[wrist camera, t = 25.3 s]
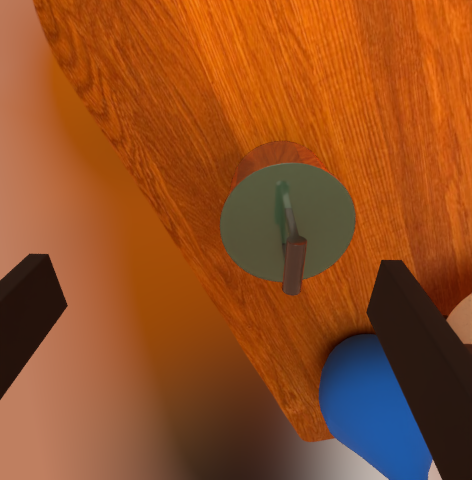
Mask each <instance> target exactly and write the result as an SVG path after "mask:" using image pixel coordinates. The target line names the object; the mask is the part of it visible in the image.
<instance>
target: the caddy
mask: <svg viewBox="0 0 472 480" xmlns="http://www.w3.org/2000/svg"><path fill="white" fill-rule="evenodd" d="M285 161H297V162H305V163H310V164H313V165H316V166H319V167H321V168H323V169H325V170H327V169H326V168H325V166H324V165H323V163H322V162H321V161H320V160H319V159H318V158H317V156H316V155H315V154H314V153H313V152H312V151H311V150H309V149H307V148H306V147H304V146H302V145H300V144H297V143H294V142H288V141H275V142H270V143H266V144H263V145H261V146H259V147H257V148H255V149H253V150H252V151H251V152H249V153H248V154H247V155H246V156H245V157H244V158H243V159H242V161H241V162H240V163H239V164H238V167H237V169H236V171H235V173H234V176H233V178H232V181H231V187H230V192H231V191H232V189H233V188H234V187H235V186H236V185H237V183H238V182H239V181H240V180H242V179H243V178H244V177H245V176H246V175H248V174H250V173H251V172H253V171H254V170H257V169H259V168H261V167H263V166H266V165H269V164H272V163H278V162H285Z"/></svg>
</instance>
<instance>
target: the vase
mask: <svg viewBox="0 0 472 480" xmlns="http://www.w3.org/2000/svg"><path fill="white" fill-rule="evenodd" d="M319 403H320V408H321V412H322V414H323V417H324V419H325V421H326V424H327V426H328V428H329V431H330V433H331V434H332V435H333V436H334V437H335V438H336V439H337V440H338V441H340V442H341V443H342V444H344V445H345V446H347V447H348V448H350V449H351V450H352V451H354V452H355V453H357V454H358V455H359V456H361V457H362V458H363V459H365V460H366V461H367V462H368V463H369V464H371V465H372V466H373V467H375V468H376V469H377V470H378V471H379V472H380V473H382V474H383V475H384V476H385V477H387V478H388V479H389V480H428V472H429V469H430V466H431V463H432V460H433V458H432V456H431V454H430V452H429V449H428V447H427V445H426V443H425V441H424V438H423V436H422V434H421V432H420V430H419V427H418V425H417V423H416V421H415V419H414V416H413V414H412V412H411V410H410V408H409V405H408V403H407V401H406V399H405V397H404V394H403V392H402V390H401V388H400V386H399V383H398V381H397V379H396V377H395V374H394V372H393V370H392V368H391V366H390V363H389V361H388V359H387V357H386V355H385V352H384V350H383V348H382V346H381V344H380V341H379V339H378V337H377V335H374V334H360V335H355V336H352V337H350V338H347V339H345V340H344V341H343V342H341V343H340V344H339V345H337V346H336V347H335V348H334V349H333V350H332V352H331V353H330V355H329V356H328V358H327V360H326V362H325V365H324V367H323V369H322V374H321V380H320V386H319Z"/></svg>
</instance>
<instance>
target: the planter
mask: <svg viewBox="0 0 472 480" xmlns="http://www.w3.org/2000/svg"><path fill="white" fill-rule="evenodd" d="M443 317H444V318H445V319H446V321H447V322H448V323H449V325H450V326H451V328H452V329H453V330H454V332H455V333H456V334H457V336H458V337H459V338H460V340H461V341H462V342H463V344H472V293H471V294H470V295H468V296H467V297H466V298H465V299H463V300H462V301H461V302H460V303H459V304H458V305H457V306H456V307H455V308H454V309H453V310H452V312H451V313H450V315H443Z"/></svg>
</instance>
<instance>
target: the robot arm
mask: <svg viewBox="0 0 472 480" xmlns="http://www.w3.org/2000/svg"><path fill="white" fill-rule="evenodd" d="M67 306H68V305H67V303H66V300H65V297H64V295H63V292H62V289H61V287H60V284H59V281H58V279H57V276H56V273H55V271H54V268H53V266H52V263H51V260H50V257H49V255H48V254H29V255H28V256H27V257H25V258H24V259H23V260H22V261H21V262H20V263H19V264H18V265H17V266H16V267H14V268H13V269H12V270H11V271H10V272H9V273H8V274H7V275H6V276H5V277H4V278H3V279H1V280H0V400H1V398H2V397H3V395H4V394H5V393H6V391H7V390H8V388H9V387H10V386H11V384H12V383H13V381H14V380H15V379H16V377H17V376H18V374H19V373H20V372H21V370H22V369H23V367H24V366H25V365H26V363H27V362H28V360H29V359H30V358H31V356H32V355H33V353H34V352H35V351H36V349H37V348H38V347H39V345H40V344H41V342H42V341H43V340H44V338H45V337H46V335H47V334H48V332H49V331H50V330H51V328H52V327H53V326H54V324H55V323H56V321H57V320H58V319H59V317H60V316H61V314H62V313H63V312H64V310H65V309H66V307H67ZM366 313H367V315H368V317H369V319H370V322H371V324H372V326H373V328H374V330H375V333H376V335H377V337H378V339H379V341H380V344H381V346H382V348H383V350H384V352H385V355H386V357H387V359H388V361H389V363H390V366H391V368H392V370H393V372H394V374H395V377H396V379H397V381H398V383H399V386H400V388H401V390H402V392H403V394H404V397H405V399H406V401H407V403H408V405H409V408H410V410H411V412H412V414H413V416H414V419H415V421H416V423H417V425H418V427H419V430H420V432H421V434H422V436H423V438H424V441H425V443H426V445H427V447H428V449H429V452H430V454H431V456H432V458H433V460H434V463H435V465H436V467H437V469H438V471H439V474H440V476H441V478H442V480H472V344H463V342H462V341H461V340H460V338H459V337H458V336H457V334H456V333H455V332H454V330H453V329H452V328H451V326H450V325H449V323H448V322H447V321H446V319H445V318H444V317H443V315H442V314H441V313H440V311H439V310H438V309H437V307H436V306H435V305H434V303H433V302H432V300H431V299H430V298H429V296H428V295H427V294H426V292H425V291H424V290H423V288H422V287H421V286H420V284H419V283H418V282H417V280H416V279H415V277H414V276H413V275H412V273H411V272H410V271H409V269H408V268H407V267H406V265H405V264H404V263H403V261H402V260H381V264H380V267H379V271H378V274H377V278H376V281H375V285H374V288H373V292H372V295H371V298H370V302H369V305H368V309H367V312H366Z"/></svg>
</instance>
